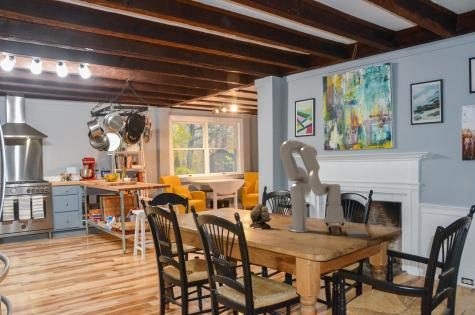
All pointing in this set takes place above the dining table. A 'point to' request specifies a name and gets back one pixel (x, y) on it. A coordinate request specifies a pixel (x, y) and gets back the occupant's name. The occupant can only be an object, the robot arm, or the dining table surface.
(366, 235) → the trivet
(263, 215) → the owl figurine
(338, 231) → the cube
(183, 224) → the dining table surface
